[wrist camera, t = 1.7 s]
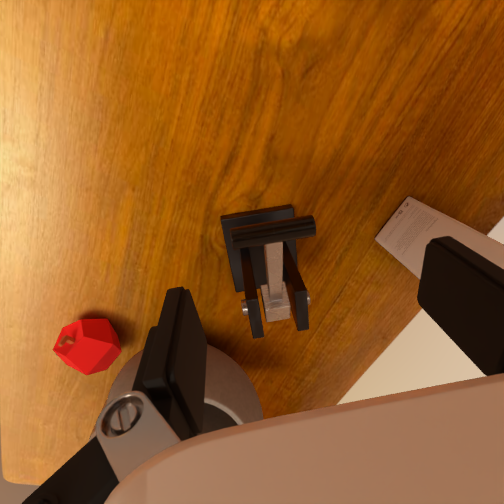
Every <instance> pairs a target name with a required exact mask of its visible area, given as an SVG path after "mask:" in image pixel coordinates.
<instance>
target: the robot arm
mask: <svg viewBox="0 0 504 504" xmlns="http://www.w3.org/2000/svg"><path fill="white" fill-rule="evenodd" d="M417 300H418V303H419V305H420V306H421V307H422V308H423V309H424V310H425V311H426V312H427V314H428V315H429V316H430V317H431V318H432V319H433V320H434V321H435V322H436V323H437V324H438V325H439V326H440V327H441V328H442V329H443V331H444V332H445V333H446V334H447V335H448V336H449V337H450V338H451V339H452V340H453V341H454V342H455V343H456V345H458V347H459V348H460V349H461V350H462V351H463V352H464V353H465V354H466V355H467V356H468V357H469V358H470V359H471V360H472V361H473V363H474V364H476V366H477V367H478V368H479V369H480V370H481V371H482V372H483V373H484V374H485V375H486V377H481V378H475V379H470V380H464V381H459V382H454V383H448V384H443V385H438V386H432V387H427V388H422V389H417V390H412V391H407V392H401V393H396V394H391V395H386V396H381V397H375V398H370V399H365V400H360V401H355V402H350V403H345V404H339V405H334V406H329V407H324V408H319V409H314V410H309V411H304V412H299V413H294V414H289V415H284V416H279V417H274V418H269V419H265V420H260V421H255V422H251V423H246V424H241V425H237V426H232V427H228V428H223V429H220V430H216V431H212V432H208V433H205V434H201V435H198V436H197V434H198V433H202V430H203V416H204V397H205V379H206V360H207V340H206V336H205V333H204V330H203V327H202V325H201V322H200V319H199V316H198V313H197V310H196V307H195V304H194V302H193V299H192V296H191V293H190V291H189V289H186V290H185V289H184V288H183V287H177V288H172V289H168V290H167V293H166V297H165V300H164V304H163V308H162V311H161V315H160V319H159V322H158V326H154V327H152V328H151V329H150V331H149V334H148V337H147V340H146V344H145V347H144V350H143V354H142V357H141V360H140V363H139V367H138V370H137V373H136V377H135V380H134V383H133V387H132V390H131V391H128V392H125V393H123V394H120V395H119V396H117V397H116V398H114V399H113V400H112V401H110V402H109V403H108V404H107V405H106V406H105V408H104V409H103V410H102V412H101V413H100V415H99V417H98V419H97V422H96V427H95V432H96V436H95V437H94V438H93V439H91V440H90V441H89V442H88V443H87V444H86V445H85V446H84V447H83V448H82V449H80V450H79V451H78V452H77V453H76V454H75V455H74V456H73V457H72V458H71V459H69V460H68V461H67V462H66V463H65V464H64V465H63V466H62V467H61V468H60V469H58V470H57V471H56V472H55V473H54V474H53V475H52V476H51V477H50V478H49V479H47V480H46V481H45V482H44V483H43V484H42V485H41V486H40V487H39V488H38V489H37V490H35V491H34V492H33V493H32V494H31V495H30V496H29V497H28V498H27V499H25V501H24V502H23V503H22V504H504V269H502V268H501V267H499V266H497V265H496V264H494V263H493V262H491V261H489V260H488V259H486V258H485V257H483V256H481V255H480V254H478V253H477V252H475V251H473V250H472V249H470V248H469V247H467V246H465V245H464V244H462V243H461V242H459V241H457V240H456V239H454V238H453V237H451V236H443V237H438V238H433V239H431V240H430V242H429V243H428V244H427V245H426V248H425V254H424V260H423V266H422V272H421V278H420V283H419V289H418V295H417Z"/></svg>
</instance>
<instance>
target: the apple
mask: <svg viewBox="0 0 504 504" xmlns="http://www.w3.org/2000/svg"><path fill="white" fill-rule="evenodd" d="M53 351H54V352H55V353H56V354H57V355H58V356H59V357H60V358H61V359H62V360H63V361H64V362H65V363H66V365H68V366H70V367H72V368H74V369H76V370H78V371H80V372H82V373H83V374H85V375H90V374H93V373H96V372H100V371H103V370H106V369H108V367H109V366H110V365H111V364H112V363H113V361H114V360H115V359H116V358H117V357H118V356H119V354H120V353H121V352H122V350H121V347H120V343H119V339H118V336H117V334H116V332H115V331H114V329H113V327H112V325H111V324H110V322H109V320H108V319H82V320H79V321H76V322H74V323H72V324H70V325H68V326H65V327H63V328H62V330H61V333H60V335H59V337H58V339H57V342H56V344H55V346H54V348H53Z"/></svg>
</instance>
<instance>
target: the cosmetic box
mask: <svg viewBox="0 0 504 504" xmlns="http://www.w3.org/2000/svg"><path fill="white" fill-rule="evenodd" d="M443 236H451V237H453V238H454V239H456V240H457V241H459V242H461V243H462V244H464V245H465V246H467V247H469V248H470V249H472V250H473V251H475V252H477V253H478V254H480V255H481V256H483V257H485V258H486V259H488V260H489V261H491V262H493V263H494V264H496V265H497V266H499V267H501V268H502V269H504V245H503V244H501V243H500V242H498V241H496V240H494V239H492V238H490V237H488V236H486V235H484V234H482V233H480V232H478V231H476V230H474V229H473V228H471V227H469V226H467V225H465V224H463V223H461V222H459V221H457V220H455V219H453V218H451V217H449V216H447V215H445V214H443V213H441V212H439V211H437V210H435V209H433V208H431V207H429V206H427V205H425V204H423V203H421V202H419V201H417V200H415V199H414V198H412V197H407V198H406V200H405V201H404V202H403V203H402V204H401V206H400V207H399V208H398V209H397V211H396V212H395V213H394V214H393V216H392V217H391V218H390V219H389V221H388V222H387V223H386V225H385V226H384V227H383V228H382V230H381V231H380V232H379V233H378V235H377V236H376V238H375V240H376V241H377V242H378V243H379V244H380V245H381V246H383V247H384V248H385V249H386V250H387V251H388V252H389V253H390V254H392V255H393V256H394V257H395V258H396V259H397V260H399V261H400V262H401V263H402V264H403V265H404V266H405V267H406V268H408V269H409V270H410V271H411V272H412V273H413V274H414V275H415V276H417V277H418V278H419V279H420V278H421V272H422V266H423V260H424V254H425V248H426V245H427V244H428V243H429V242H430V240H431V239H433V238H438V237H443Z"/></svg>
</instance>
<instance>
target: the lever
mask: <svg viewBox="0 0 504 504" xmlns="http://www.w3.org/2000/svg"><path fill="white" fill-rule="evenodd" d="M230 235H231V241H232V246H233V249H234V250H237V249H243V248H249V247H255V246H261V245H264V253H265V264H266V276H267V284H266V285H261V286H260V288H261V295H262V302H263V307H264V313H265V318H266V322H271V321H276V320H282V319H288V318H290V308H291V305H290V301H289V297H288V292H287V288H286V284H285V281H283V242H284V241H290V240H296V239H302V238H308V237H314V236H315V235H316V224H315V220H314V218H313V216H312V215H307V216H301V217H295V218H289V219H283V220H278V221H272V222H266V223H260V224H254V225H248V226H242V227H236V228H231V229H230Z"/></svg>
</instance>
